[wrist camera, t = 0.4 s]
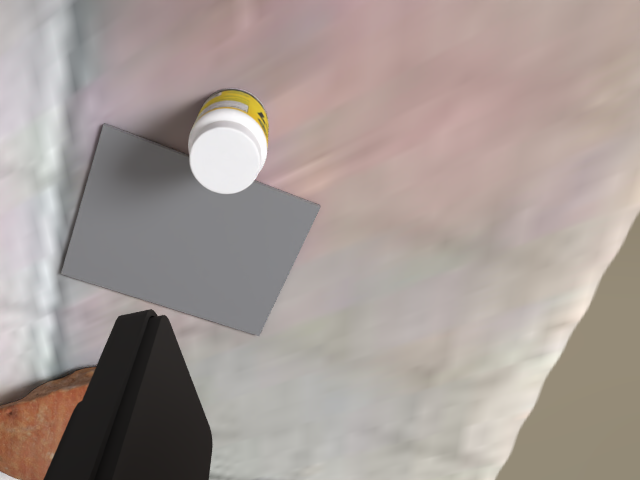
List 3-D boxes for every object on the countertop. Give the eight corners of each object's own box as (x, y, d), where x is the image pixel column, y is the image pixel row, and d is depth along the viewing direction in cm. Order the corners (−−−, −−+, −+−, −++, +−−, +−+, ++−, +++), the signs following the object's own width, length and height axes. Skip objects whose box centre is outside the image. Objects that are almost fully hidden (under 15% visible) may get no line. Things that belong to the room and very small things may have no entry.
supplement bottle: (267, 156, 41) (264, 204, 34) (199, 152, 41) (182, 199, 33) (270, 89, 39) (269, 124, 32) (199, 83, 39) (180, 117, 31)
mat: (104, 123, 40) (103, 124, 39) (320, 205, 43) (320, 207, 43) (62, 271, 44) (60, 273, 44) (259, 333, 48) (259, 336, 48)
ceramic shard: (-38, 362, 42) (175, 376, 46) (-13, 319, 48) (174, 335, 52) (-46, 521, 46) (149, 520, 51) (-23, 464, 52) (150, 467, 57)
